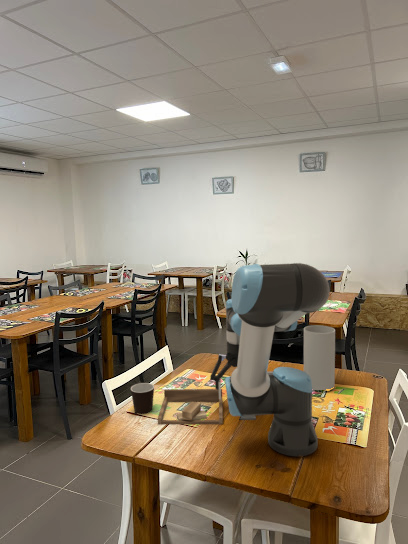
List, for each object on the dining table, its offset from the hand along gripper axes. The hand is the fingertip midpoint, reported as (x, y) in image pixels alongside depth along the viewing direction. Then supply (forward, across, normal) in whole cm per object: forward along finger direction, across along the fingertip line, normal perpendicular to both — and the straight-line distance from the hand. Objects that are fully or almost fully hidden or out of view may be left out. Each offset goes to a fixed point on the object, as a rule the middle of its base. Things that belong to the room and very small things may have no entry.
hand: (237, 397), depth 146 cm
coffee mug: (+6, +35, -1) cm, 35 cm away
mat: (+6, 0, 0) cm, 6 cm away
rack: (+6, +17, +2) cm, 18 cm away
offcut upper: (+3, +17, +7) cm, 18 cm away
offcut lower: (+6, +17, +7) cm, 19 cm away
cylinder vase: (+6, -35, -22) cm, 42 cm away
